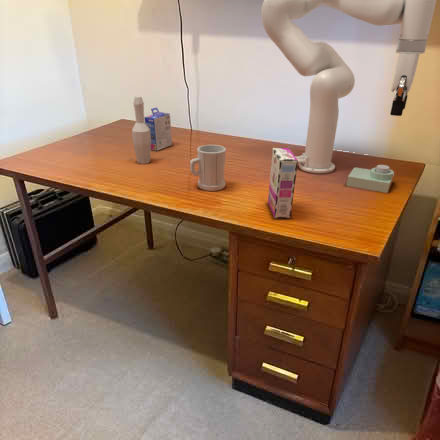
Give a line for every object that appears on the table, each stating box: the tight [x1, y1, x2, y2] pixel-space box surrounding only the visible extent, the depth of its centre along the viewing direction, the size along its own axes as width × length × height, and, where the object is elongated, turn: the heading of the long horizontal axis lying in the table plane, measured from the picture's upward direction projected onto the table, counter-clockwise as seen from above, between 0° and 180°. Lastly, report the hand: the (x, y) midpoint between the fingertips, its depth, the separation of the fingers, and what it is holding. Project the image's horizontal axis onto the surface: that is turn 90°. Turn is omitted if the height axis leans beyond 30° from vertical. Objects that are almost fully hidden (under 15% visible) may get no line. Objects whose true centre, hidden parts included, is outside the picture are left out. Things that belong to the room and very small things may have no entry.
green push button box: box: [345, 166, 395, 194], centre depth 141 cm, size 13×10×5 cm
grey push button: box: [375, 164, 391, 173], centre depth 139 cm, size 4×4×2 cm
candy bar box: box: [267, 147, 299, 219], centre depth 120 cm, size 11×5×16 cm, turn 5°
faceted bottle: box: [131, 95, 152, 165], centre depth 153 cm, size 6×6×22 cm
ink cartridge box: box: [144, 107, 173, 152], centre depth 170 cm, size 10×6×14 cm, turn 148°
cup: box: [189, 144, 227, 192], centre depth 136 cm, size 10×9×12 cm
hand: (397, 112), depth 131 cm, fingers open, 9 cm apart
